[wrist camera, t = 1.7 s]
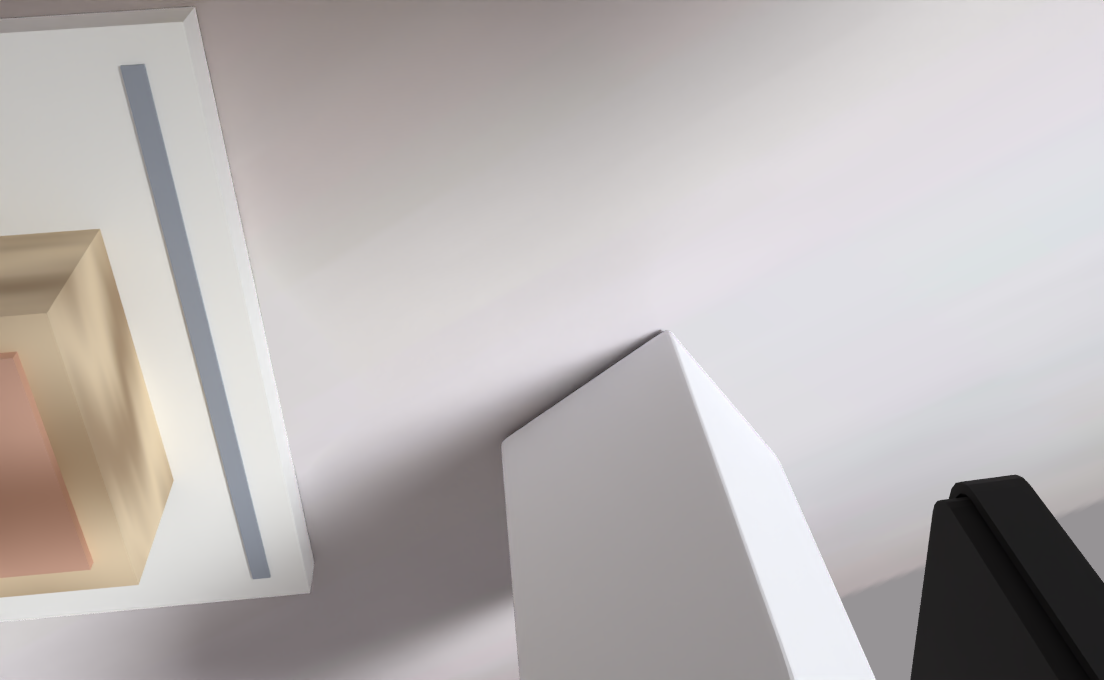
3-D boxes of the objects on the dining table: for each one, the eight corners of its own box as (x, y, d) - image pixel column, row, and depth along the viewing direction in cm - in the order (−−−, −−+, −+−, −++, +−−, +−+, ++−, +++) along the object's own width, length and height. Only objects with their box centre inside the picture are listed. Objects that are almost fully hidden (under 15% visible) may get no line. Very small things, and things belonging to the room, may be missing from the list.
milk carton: (777, 454, 38) (1027, 1020, 22) (617, 554, 40) (738, 1144, 24) (667, 324, 35) (865, 877, 18) (498, 439, 36) (544, 1034, 20)
